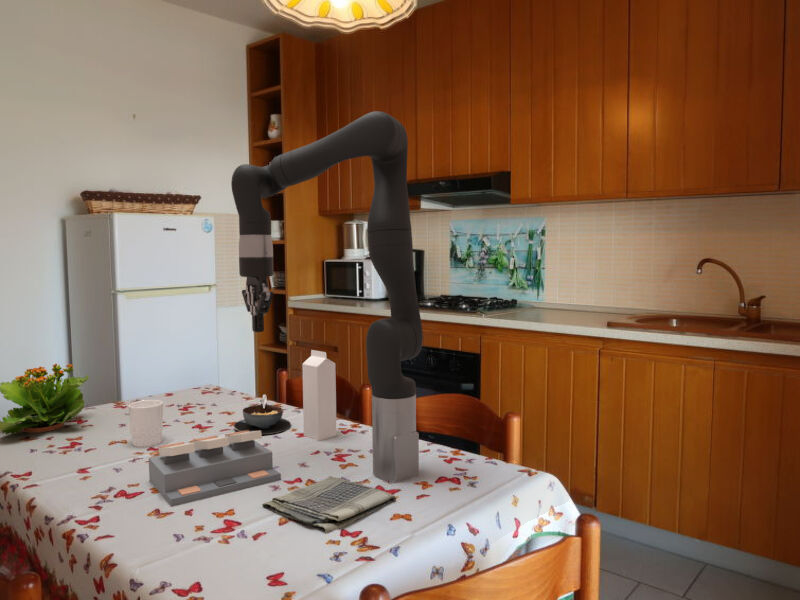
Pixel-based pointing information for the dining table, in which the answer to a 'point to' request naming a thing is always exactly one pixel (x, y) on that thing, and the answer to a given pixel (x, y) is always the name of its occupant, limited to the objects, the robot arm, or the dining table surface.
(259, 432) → the block
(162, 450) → the rocker
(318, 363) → the milk
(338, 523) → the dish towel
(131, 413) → the white cup
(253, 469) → the switch unit
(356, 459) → the dining table surface
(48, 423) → the potted flower
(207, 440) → the rocker
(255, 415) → the soup bowl
